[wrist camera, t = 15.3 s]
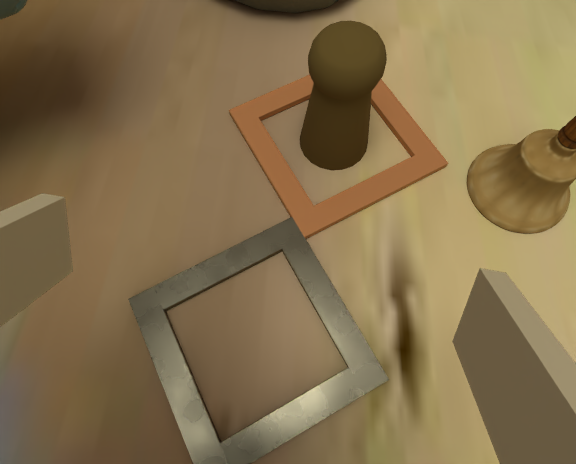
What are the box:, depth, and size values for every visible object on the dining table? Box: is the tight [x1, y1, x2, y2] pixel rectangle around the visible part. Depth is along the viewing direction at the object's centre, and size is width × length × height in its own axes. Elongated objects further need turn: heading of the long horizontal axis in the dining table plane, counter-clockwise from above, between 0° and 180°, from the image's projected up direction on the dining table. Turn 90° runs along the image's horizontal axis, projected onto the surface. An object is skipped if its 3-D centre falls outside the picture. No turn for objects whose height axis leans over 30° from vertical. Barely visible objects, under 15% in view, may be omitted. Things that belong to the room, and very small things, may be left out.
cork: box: [300, 21, 386, 170], centre depth 30 cm, size 6×6×11 cm
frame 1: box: [229, 75, 448, 239], centre depth 35 cm, size 14×14×1 cm
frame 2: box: [129, 217, 389, 464], centre depth 29 cm, size 14×14×1 cm
